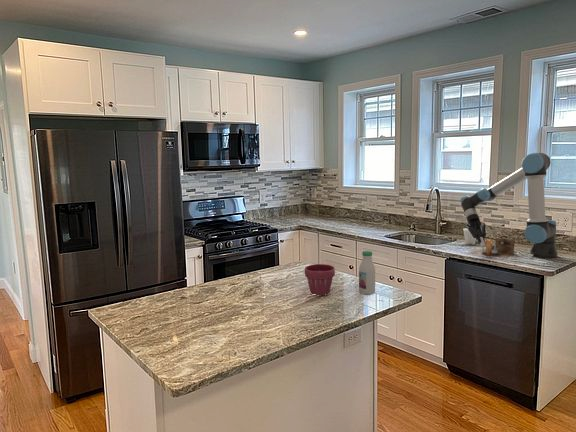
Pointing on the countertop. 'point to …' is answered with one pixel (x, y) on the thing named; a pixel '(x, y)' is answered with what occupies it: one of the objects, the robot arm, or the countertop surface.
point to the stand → (502, 244)
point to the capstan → (490, 249)
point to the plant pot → (319, 278)
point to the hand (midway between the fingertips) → (483, 246)
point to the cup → (468, 237)
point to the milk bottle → (367, 274)
